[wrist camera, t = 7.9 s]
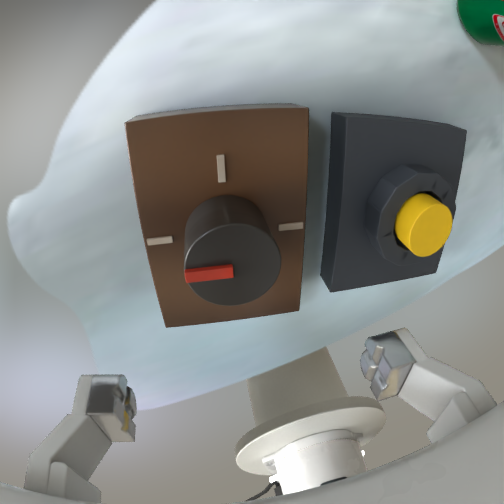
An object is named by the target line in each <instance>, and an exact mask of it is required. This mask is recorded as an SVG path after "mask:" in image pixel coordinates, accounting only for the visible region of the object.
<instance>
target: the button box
mask: <svg viewBox="0 0 504 504" xmlns="http://www.w3.org/2000/svg"><path fill="white" fill-rule="evenodd" d="M466 133H467V131H466V130H464V129H461V128H458V127H455V126H452V125H449V124H445V123H439V122H433V121H426V120H419V119H411V118H402V117H393V116H383V115H372V114H358V113H340V112H332V114H331V144H330V165H329V182H328V197H327V210H326V223H325V234H324V245H323V255H322V264H321V273H320V276H321V277H322V279H323V281H324V282H325V284H326V286H327V287H328V289H329V291H330V292H337V291H343V290H349V289H355V288H360V287H366V286H372V285H377V284H382V283H388V282H393V281H398V280H403V279H408V278H414V277H418V276H423V275H428V274H433V273H436V271H437V268H438V264H439V261H440V258H441V254H442V251H443V248H444V245H443V246H442V247H441V248H440V249H439V250H438V251H437V252H435V253H434V254H432V255H429V256H426V257H420V256H417V255H415V254H413V253H412V252H411V251H410V250H409V249H408V248H407V247H406V246H405V245H404V244H403V243H402V242H401V241H400V240H399V239H398V237H397V236H396V233H395V219H396V216H397V213H398V212H399V210H400V209H401V207H402V205H403V204H404V202H405V201H406V200H407V199H409V198H410V197H412V196H414V195H416V194H420V193H424V194H428V195H430V196H432V197H433V198H435V199H436V200H438V201H439V202H441V203H442V204H444V205H445V206H447V207H448V209H449V210H450V212H451V215H452V223H453V219H454V215H455V210H456V204H455V199H456V195H457V190H458V185H459V179H460V174H461V168H462V162H463V156H464V149H465V141H466ZM444 244H445V243H444Z"/></svg>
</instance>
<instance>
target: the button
mask: <svg viewBox="0 0 504 504" xmlns="http://www.w3.org/2000/svg"><path fill="white" fill-rule="evenodd" d="M451 228H452V215H451V212H450V210H449V209H448V207H447V206H445V205H444V204H442V203H441V202H439V201H438V200H436V199H435V198H433V197H432V196H430V195H428V194H424V193H420V194H416V195H414V196H412V197H410V198H409V199H407V200H406V201H405V202H404V204H403V205H402V207H401V209H400V210H399V212H398V213H397V216H396V219H395V233H396V236H397V237H398V239H399V240H400V241H401V242H402V243H403V244H404V245H405V246H406V247H407V248H408V249H409V250H410V251H411V252H412V253H413V254H415V255H417V256H420V257H426V256H429V255H432V254H434V253H435V252H437V251H438V250H439V249H440V248H441V247H442V246H443V245H444V243H445V242H446V240H447V239H448V237H449V234H450V232H451Z"/></svg>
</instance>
